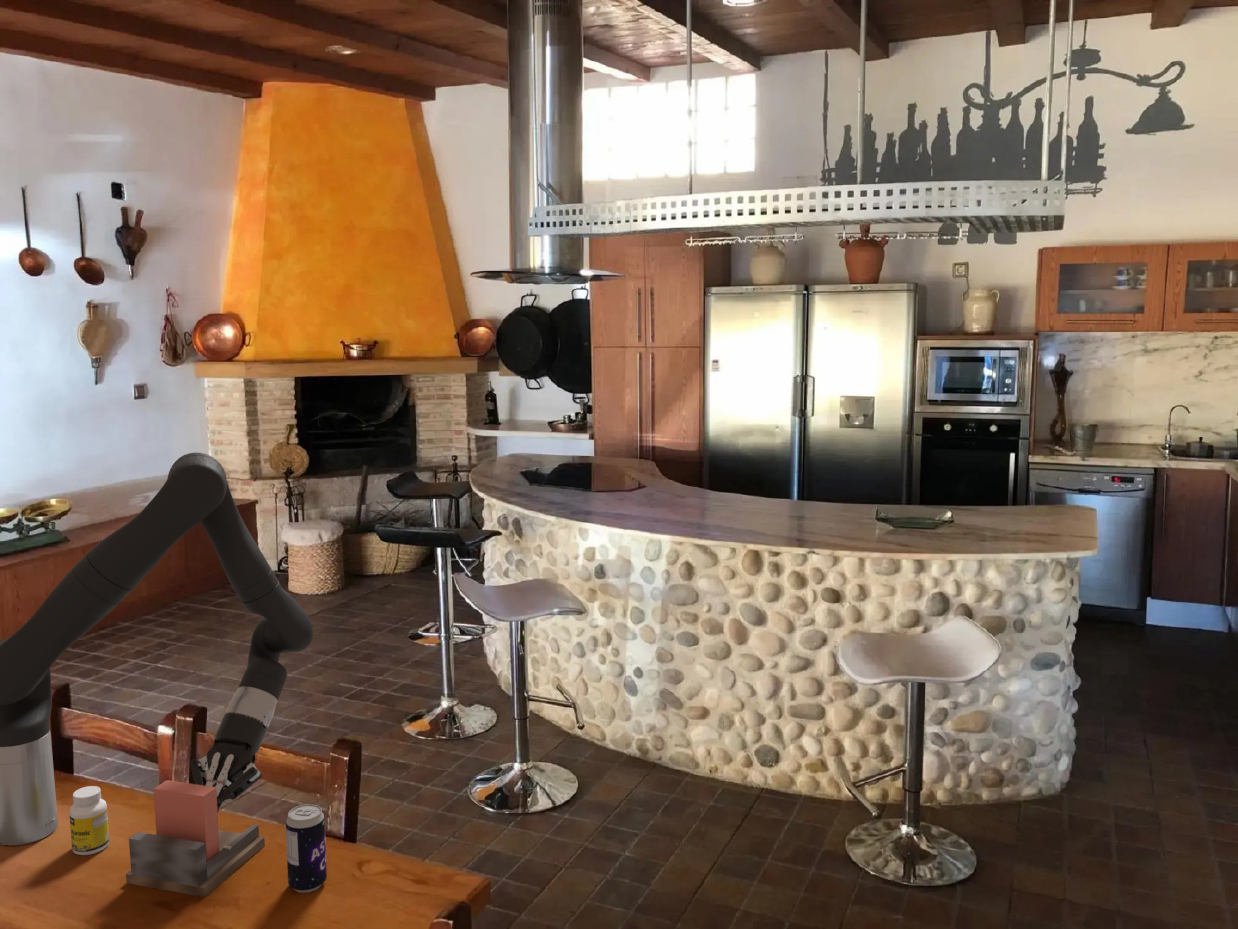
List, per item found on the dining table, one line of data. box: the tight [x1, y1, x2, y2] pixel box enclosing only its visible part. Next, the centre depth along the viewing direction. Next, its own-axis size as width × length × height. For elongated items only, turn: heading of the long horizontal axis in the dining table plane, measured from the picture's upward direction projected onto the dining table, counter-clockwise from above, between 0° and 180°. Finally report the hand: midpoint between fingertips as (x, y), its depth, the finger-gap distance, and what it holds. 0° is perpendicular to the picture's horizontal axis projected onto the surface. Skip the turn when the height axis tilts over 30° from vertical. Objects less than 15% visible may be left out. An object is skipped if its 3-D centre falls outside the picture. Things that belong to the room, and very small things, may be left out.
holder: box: [125, 824, 266, 898], centre depth 154 cm, size 14×15×8 cm
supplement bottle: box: [68, 785, 110, 856], centre depth 159 cm, size 5×5×10 cm
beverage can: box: [285, 803, 328, 894], centre depth 149 cm, size 6×6×12 cm
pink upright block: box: [152, 779, 220, 862], centre depth 152 cm, size 9×3×12 cm, turn 76°
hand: (203, 822), depth 156 cm, fingers closed
